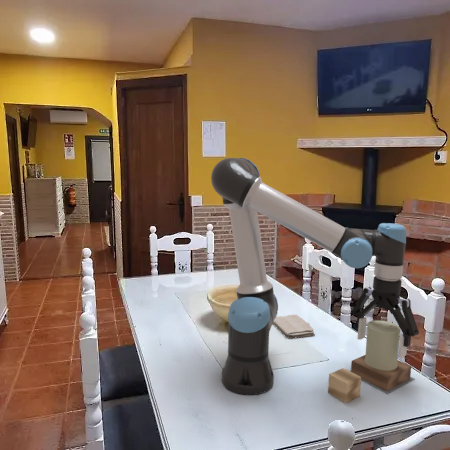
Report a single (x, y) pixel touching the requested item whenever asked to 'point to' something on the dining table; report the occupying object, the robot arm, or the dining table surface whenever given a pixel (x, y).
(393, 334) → the can
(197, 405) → the dining table surface
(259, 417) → the dining table surface
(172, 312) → the dining table surface
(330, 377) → the cube
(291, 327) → the washcloth
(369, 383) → the mat
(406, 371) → the slab
